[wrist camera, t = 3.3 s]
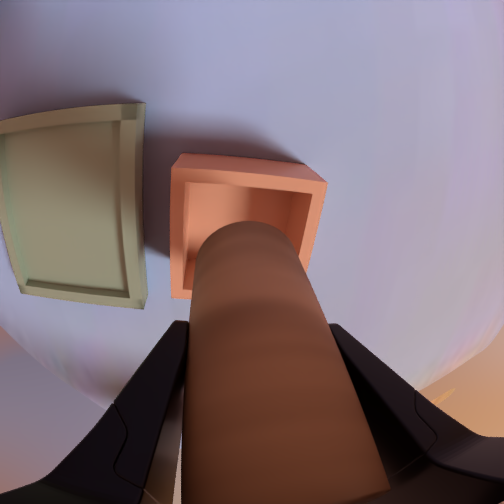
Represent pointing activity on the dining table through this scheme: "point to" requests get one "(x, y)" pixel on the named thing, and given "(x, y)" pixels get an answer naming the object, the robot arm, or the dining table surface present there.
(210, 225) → the holder
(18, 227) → the tray
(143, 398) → the robot arm
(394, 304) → the dining table surface
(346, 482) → the dowel
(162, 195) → the dining table surface
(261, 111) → the dining table surface
